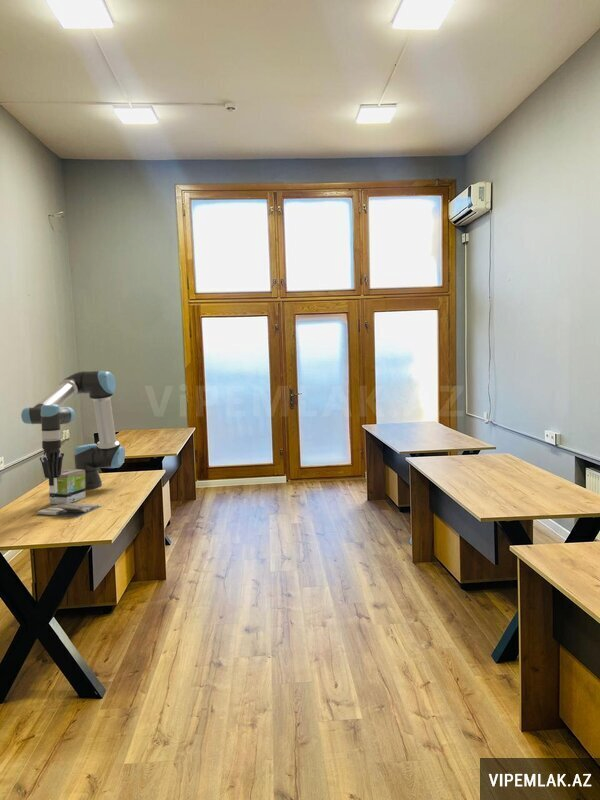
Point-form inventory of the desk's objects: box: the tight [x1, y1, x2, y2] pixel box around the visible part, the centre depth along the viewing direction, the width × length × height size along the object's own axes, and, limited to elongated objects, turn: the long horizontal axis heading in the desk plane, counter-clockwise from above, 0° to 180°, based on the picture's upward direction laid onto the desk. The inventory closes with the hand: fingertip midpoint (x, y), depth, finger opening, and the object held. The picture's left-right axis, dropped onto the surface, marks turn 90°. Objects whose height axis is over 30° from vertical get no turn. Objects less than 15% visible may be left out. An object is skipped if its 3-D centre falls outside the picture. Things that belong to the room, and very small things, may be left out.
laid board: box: [50, 502, 99, 513], centre depth 247 cm, size 8×20×1 cm, turn 77°
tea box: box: [49, 468, 86, 505], centre depth 261 cm, size 15×10×15 cm, turn 168°
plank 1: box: [36, 506, 66, 515], centre depth 240 cm, size 8×10×1 cm
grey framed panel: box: [35, 505, 103, 519], centre depth 244 cm, size 19×22×1 cm
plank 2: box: [57, 505, 87, 512], centre depth 238 cm, size 8×10×1 cm
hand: (53, 492), depth 235 cm, fingers closed
